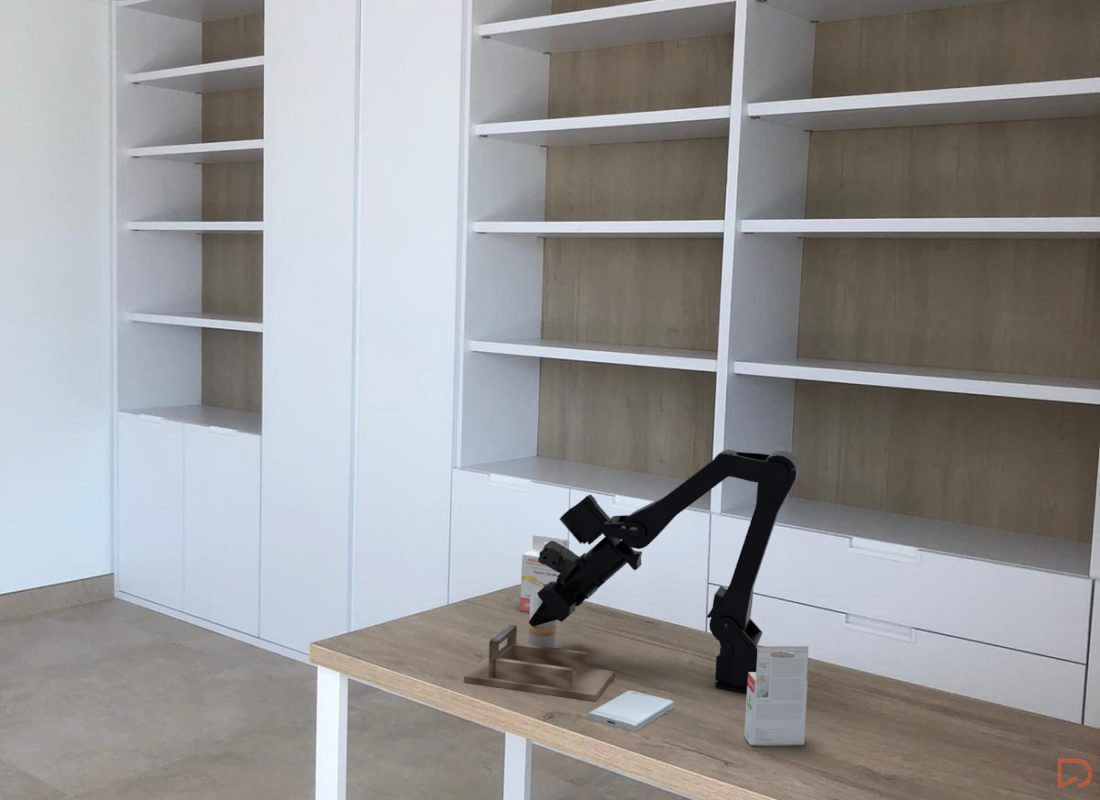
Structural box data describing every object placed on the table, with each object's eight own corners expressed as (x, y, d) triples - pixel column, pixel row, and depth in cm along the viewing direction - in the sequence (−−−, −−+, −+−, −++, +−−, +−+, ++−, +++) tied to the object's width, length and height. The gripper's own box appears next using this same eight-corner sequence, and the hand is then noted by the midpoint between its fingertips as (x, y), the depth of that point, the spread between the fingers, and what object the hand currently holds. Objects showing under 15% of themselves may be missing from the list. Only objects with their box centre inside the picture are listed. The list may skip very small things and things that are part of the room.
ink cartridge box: (518, 611, 225) (521, 538, 224) (529, 605, 229) (531, 534, 228) (558, 617, 222) (561, 543, 220) (568, 611, 226) (571, 539, 225)
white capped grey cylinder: (559, 656, 198) (561, 595, 197) (548, 664, 193) (550, 601, 192) (534, 652, 200) (536, 591, 198) (523, 660, 195) (525, 597, 194)
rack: (614, 677, 188) (615, 636, 188) (595, 701, 177) (596, 657, 176) (490, 660, 195) (491, 620, 194) (463, 682, 183) (465, 640, 183)
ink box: (743, 736, 165) (748, 638, 163) (796, 736, 165) (802, 639, 164) (750, 747, 161) (755, 646, 160) (804, 746, 162) (810, 647, 160)
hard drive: (628, 689, 180) (587, 711, 169) (674, 700, 175) (635, 724, 165) (627, 699, 180) (586, 722, 170) (674, 711, 176) (634, 735, 165)
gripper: (583, 518, 202) (522, 572, 206) (551, 539, 184) (485, 597, 189) (624, 566, 200) (562, 620, 205) (596, 591, 183) (529, 650, 187)
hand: (535, 620), depth 196 cm, fingers closed on white capped grey cylinder, 5 cm apart
